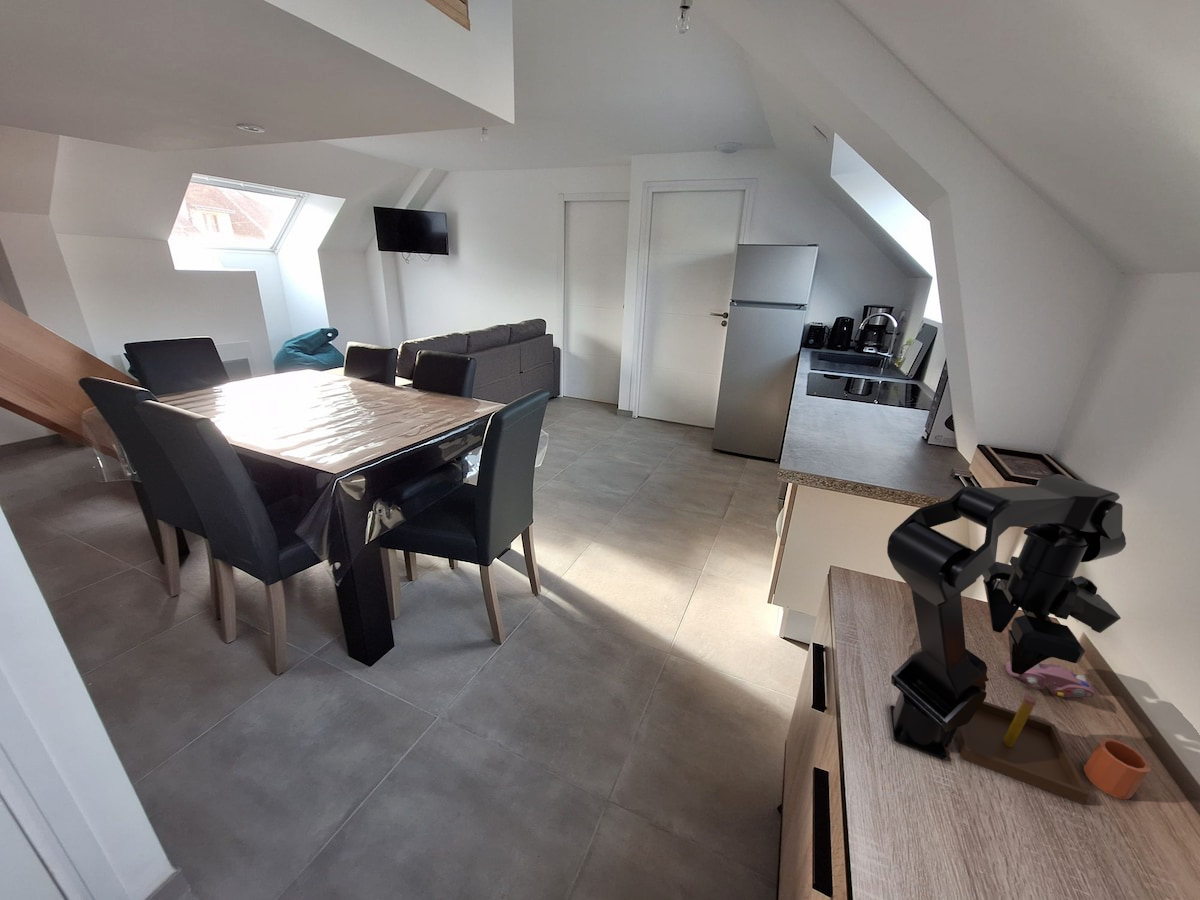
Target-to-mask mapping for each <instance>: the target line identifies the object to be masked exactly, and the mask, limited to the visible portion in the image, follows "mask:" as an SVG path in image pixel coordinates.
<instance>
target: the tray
mask: <svg viewBox="0 0 1200 900" xmlns="http://www.w3.org/2000/svg"><path fill="white" fill-rule="evenodd" d="M1016 713H1017V711H1015V710H1012V709H1008V708H1005V707H1003V706H1000V705H996V704H994V703H991V702H987V701H985V700H984V702H983V703H982V704H981V706H980V707H979V709H978V710H977V711H976V713H975V714H974V716H973V717H972V718H971V720H970V721H969V723H967V724H965V725H963V726H960V727H958V728H957V730H956V732H955V734H954V736H955V739H956V742H957V746H958V749H959V750H958V751H959V754H960V757H961V759H962V760H963V761H964V760H965V761H966V762H969V763H972V764H975V765H977V766H981V767H983V768H986V769H988V770H991V771H994V772H996V773H999V774H1002V775H1004V776H1006V777H1009V778H1012V779H1014V780H1017V781H1020V782H1022V783H1025V784H1028V785H1030V786H1033V787H1036V788H1039V789H1041V790H1044V791H1046V792H1049V793H1052V794H1054V795H1056V796H1060V797H1061V798H1065V799H1067V800H1070V801H1073V802H1075V803H1078V804H1080V805H1084V804H1085V802H1086V801H1087V799H1088V798H1089V797H1090V793H1089V791H1088V789H1087V787H1086V785H1085V782H1084V781H1083V778H1082V777H1081V775H1080V773H1079V771H1078V769H1077V767H1076V765H1075V762H1074V761H1073V759H1072V757H1071V755H1070V753H1069V751H1068V749H1067V746H1066V745H1065V743H1064V741H1063V739H1062V737H1061V735H1060V733H1059V731H1058V729H1057V727H1056V725H1055V724H1053V723H1050V722H1049V721H1045V720H1042V719H1039V718H1036V717H1032V716H1030V715H1029V717H1028V719H1027V721H1026V723H1025V725H1024V726H1023V728H1022V730H1021V732H1020V734H1019V736H1018V738H1017V740H1016V742H1015V744H1014V746H1013V747H1008V746H1006V745H1005V744H1004V743H1003V739H1004V737H1005V735H1006V733H1007V731H1008V729H1009V727H1010V725H1011V723H1012V721H1013V719H1014V717H1015V715H1016Z"/></svg>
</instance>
